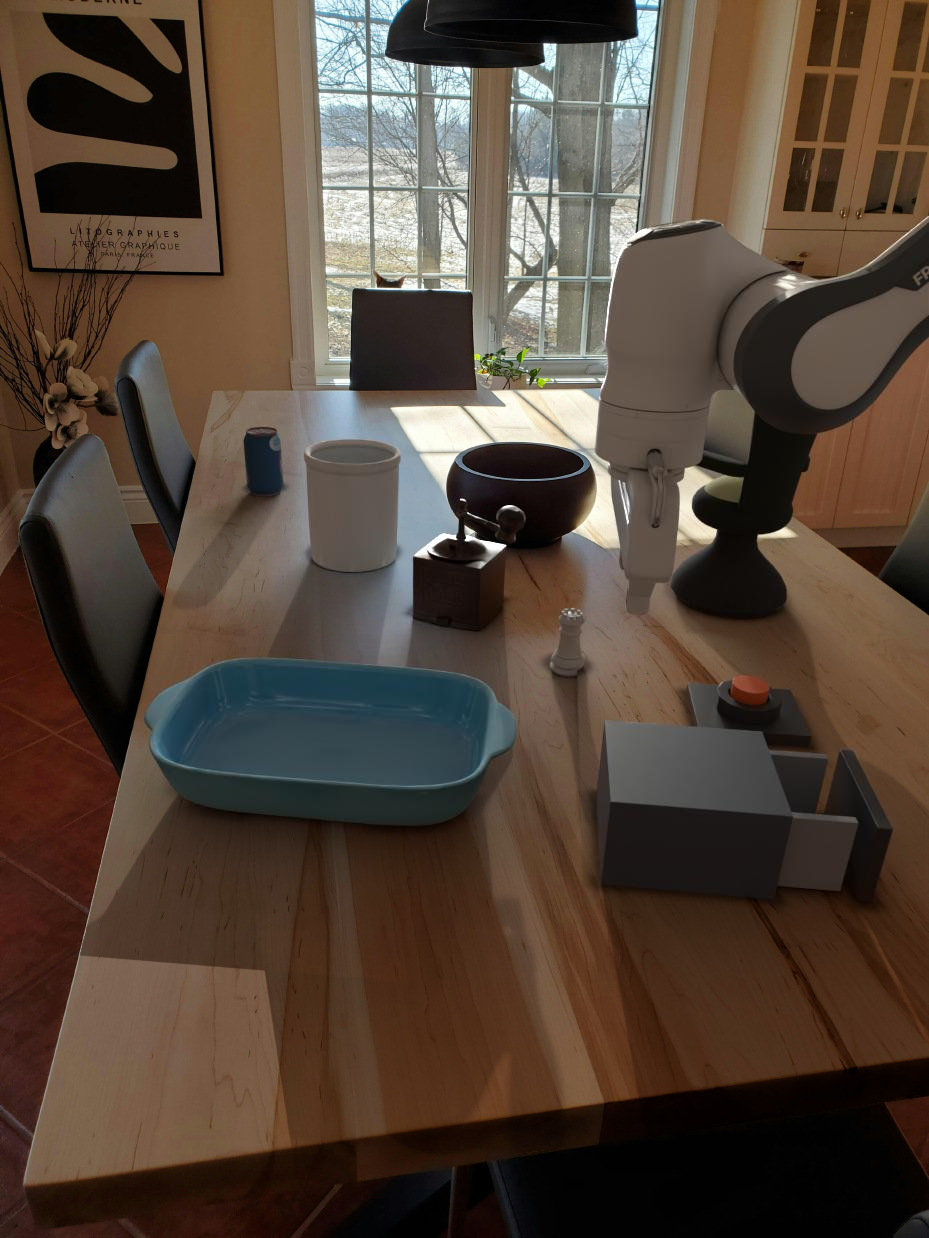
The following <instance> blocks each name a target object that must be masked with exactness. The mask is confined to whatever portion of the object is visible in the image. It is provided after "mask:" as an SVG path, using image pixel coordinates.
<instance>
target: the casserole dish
mask: <svg viewBox="0 0 929 1238" xmlns="http://www.w3.org/2000/svg"><path fill="white" fill-rule="evenodd" d="M143 720H144V724H145V726H146V727H147V728H148V729H149V730H150V731H151V733H150V735H149V739H148V747H149V752H150V753H151V756H152V757H153V759H154V761H155V763H156V764H157V766H158V768H159V770H160V771H161V773H162V774H163V776H164V778H165V779H166V780H167V782H168V783H169V785H170V786H171V788H172V789H173V790H174V791H175V792H177V793H178V794H179V795H180V796H181V797H182V798H184V799H186V800H188V801H190V802H192V803H194V804H197V805H200V806H203V807H207V808H212V809H216V810H221V811H228V812H235V813H236V812H237V813H245V814H256V815H266V816H267V815H268V816H279V817H291V818H299V819H300V818H301V819H311V820H322V821H332V822H341V823H342V822H343V823H355V824H366V825H378V826H396V827H397V826H398V827H399V826H403V827H404V826H405V827H406V826H409V827H411V826H414V827H416V826H417V827H418V826H433V825H437V824H442V823H444V822H448V821H450V820H452V819H454V818H456V817H458V816H460V815H461V814H462V813H463V812H465V810H466V809H468V807H469V806H470V805H471V804H472V803H473V801H474V799H475V798H476V796H477V794H478V791H479V790H480V787H481V784H482V782H483V779H484V777H485V774H486V772H487V770H488V768H489V764H490V762H491V761H492V760H493V759H496V758H498V757H499V756H502V755H503V754H505V753H507V752H508V751H509V750H511V748H512V747H513V745H514V744H515V741H516V735H517V720H516V717H515V715H514V713H513V711H511V710H510V709H509V708H508V707H506V706H505V705H504V704H502V703H500V702H499V701H498V700H497V697H496V694H495V692H494V691H493V689H492V688H491V687H490V686H489V685H488V684H487V683H486V682H483V681H482V680H480V679H478V678H476V677H472V676H469V675H467V674H462V673H457V672H452V671H445V670H439V669H438V670H436V669H431V668H430V669H429V668H419V667H409V666H408V667H407V666H398V665H397V666H395V665H384V664H383V665H381V664H371V663H370V664H368V663H357V662H341V661H340V662H339V661H328V660H327V661H326V660H314V659H299V658H280V657H279V658H278V657H243V658H242V657H240V658H234V659H228V660H227V659H226V660H223V661H219V662H217V663H213V664H210V665H209V666H207V667H205V668H202V670H200V671H198V672H197V673H196V674H194V675H192V676H191V677H189V678H186V679H185V680H182V681H180V682H178V683H176V684H173V685H171V686H169V687H167V688H166V689H165V690H163V691H161V692H160V693H159V694H158V695H157V696H156V697H155V698H154V699H153V700H152V701H151V703H150V704H149V705H148V706H147V709H146V711H145V713H144V716H143Z"/></svg>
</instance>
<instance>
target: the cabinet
mask: <svg viewBox="0 0 929 1238" xmlns="http://www.w3.org/2000/svg"><path fill="white" fill-rule="evenodd" d="M601 738H602V739H601V748H600V749H601V750H600V758H599V768H598V775H597V776H598V777H597V786H596V793H595V795H596V796H595V797H596V814H597V815H596V816H597V817H596V818H597V819H596V820H597V837H598V853H599V855H598V856H599V873H600V874H599V875H600V885H602V886H613V887H614V886H615V887H626V888H636V889H646V890H647V889H649V890H660V891H669V892H670V891H672V892H682V893H692V894H693V893H694V894H703V895H714V896H715V895H716V896H728V897H738V898H739V897H740V898H749V899H761V900H772V901H773V900H775V898H776V894H777V889H778V886H777V885H778V881H779V876H780V872H781V868H782V863H783V859H784V854H785V850H786V846H787V841H788V837H789V833H790V828H791V824H792V819H793V815H792V812H791V810H790V807H789V804H788V801H787V799H786V796H785V793H784V790H783V788H782V785H781V782H780V779H779V776H778V774H777V771H776V768H775V765H774V763H773V760H772V757H771V754H770V752H769V750H770V749H769V746H768V744H767V743H766V741H765V738H764V735H763V732H760V731H746V730H733V729H719V728H705V727H694V726H690V725H677V724H663V723H650V722H636V721H625V720H624V721H623V720H609V719H604V721H603V729H602V737H601Z"/></svg>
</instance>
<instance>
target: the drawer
mask: <svg viewBox="0 0 929 1238" xmlns="http://www.w3.org/2000/svg"><path fill="white" fill-rule="evenodd" d="M769 752H770V754H771V757H772V760H773V763H774V765H775V768H776V771H777V774H778V776H779V779H780V782H781V785H782V788H783V790H784V793H785V796H786V799H787V801H788V804H789V807H790V810H791V812H792V815H793V819H792V824H791V828H790V833H789V837H788V841H787V846H786V850H785V854H784V859H783V863H782V868H781V872H780V876H779V881H778V885H777V887H785V888H786V887H787V888H798V889H811V890H820V891H830V892H831V891H833V892H841V889H842V885H843V882H844V877H845V875H846V877H847V879H848V881H849V884H850V886H851V888H852V890H853V893H854V896H855V898H856V900H857V902H862V903H873V900H874V896H875V893H876V890H877V886H878V883H879V879H880V876H881V873H882V869H883V866H884V862H885V858H886V856H887V853H888V849H889V845H890V842H891V839H892V834H893V831H894V828H893V827H892V826H893V825H892V824H891V822H890V820H889V818H888V815H887V814H886V812H885V810H884V808H883V806H882V805H881V802H880V800H879V799H878V796H877V794H876V793H875V791H874V789H873V787H872V785H871V783H870V781H869V779H868V777H867V776H866V775H867V774H866V773H865V771H864V769H863V767H862V766H861V763H860V761H859V759H858V758H857V755H856V754H855V752H854V750H853V749H841V748H840V749H839V751H838V755H837V759H836V764H835V766H834V771H833V774H832V775H833V776H832V779H831V783H830V788H829V790H828V791H829V792H828V795H827V800H826V804H825V807H824V812H823V814H817V813H816V812H817V809H818V805H819V801H820V797H821V792H822V788H823V784H824V780H825V776H826V773H827V768H828V764H829V757H828V754H827V753H815V752H814V753H813V752H804V751H803V752H800V751H787V750H776V749H769Z"/></svg>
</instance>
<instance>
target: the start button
mask: <svg viewBox="0 0 929 1238" xmlns="http://www.w3.org/2000/svg"><path fill="white" fill-rule="evenodd" d="M732 680H733V682H732V687H731V693H730V696H731V697H732V698H733V699H735V700H736V701H738V702H741V703H744V704H747V705H762V704H766V702H767V699H768V694H769V689H770V687H771V686H770V684H769V683H768V682H767V681H766V680H764V679H763V678H760V677H757V676H755V675H754V676H753V675H747V674H746V675H745V674H744V675H738V676H735V677H734V678H733V679H732Z"/></svg>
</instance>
